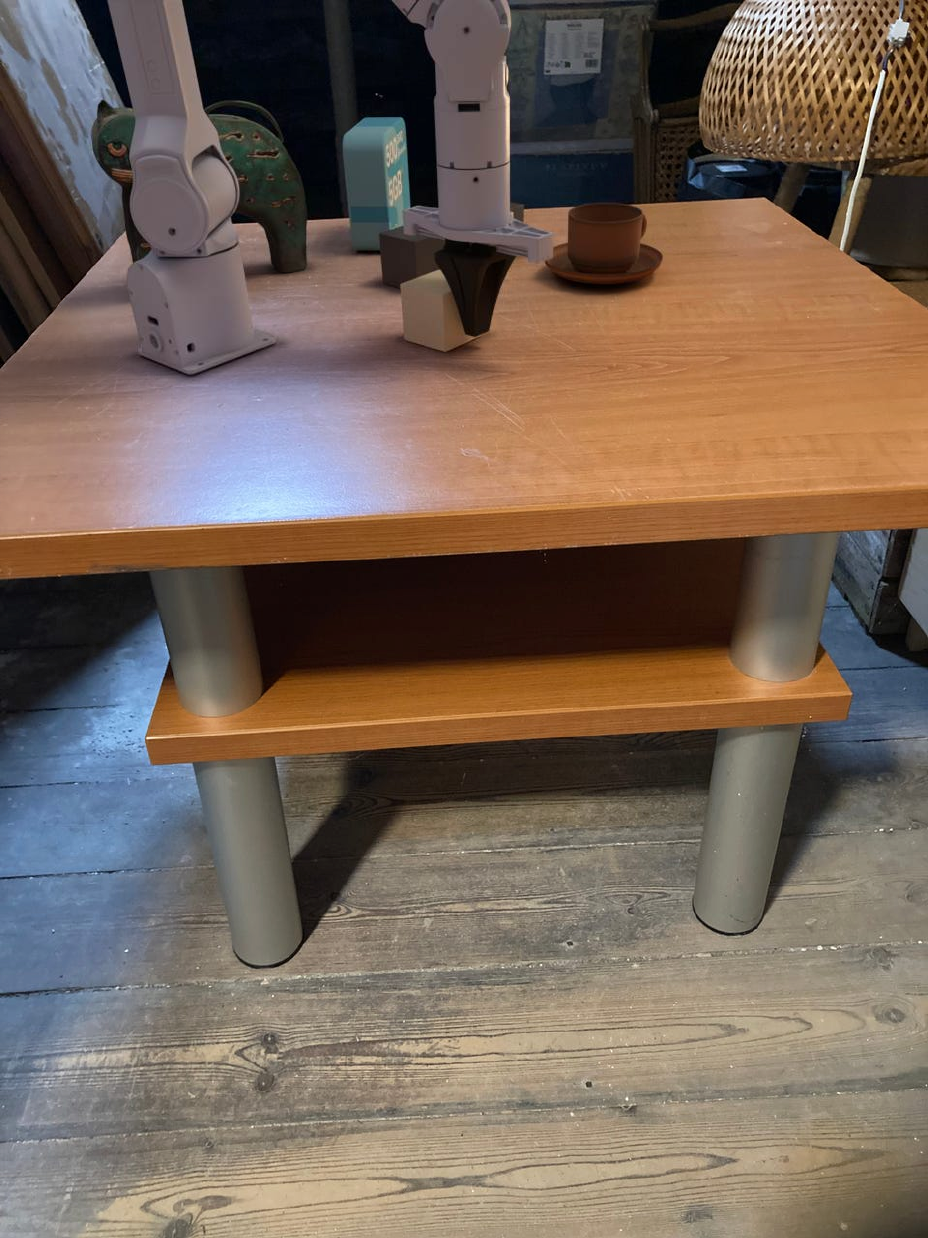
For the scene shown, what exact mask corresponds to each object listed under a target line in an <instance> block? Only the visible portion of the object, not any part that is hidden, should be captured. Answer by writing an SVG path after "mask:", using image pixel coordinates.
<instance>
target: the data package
mask: <svg viewBox="0 0 928 1238" xmlns="http://www.w3.org/2000/svg"><path fill="white" fill-rule="evenodd" d="M407 145H408V143H407V129H406V122H405V120H404V118H403V117H401V116H399V117H397V116H396V117H390V116H389V117H364V118H363V119H361V120H360V121H359V122H357V124H355V125H354V126H353V127H352V128H350V130H348V131H347V132H345V134H344V135H343V139H342V158H343V159H342V160H343V167H344V178H345V188H346V199H347V210H348V220H349V229H350V239H351V245H352V247H353V249H354V250H355V251H357V252H358V251H361V252H362V251H363V252H364V251H365V252H367V251H369V252H380V243H379V233H382V232H385V231H388V230H391V229H394V228H398V227H401V226H403V210H406V209H409V208H411V197H410V196H411V195H410V179H409V162H408V146H407Z"/></svg>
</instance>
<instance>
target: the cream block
mask: <svg viewBox="0 0 928 1238" xmlns="http://www.w3.org/2000/svg"><path fill="white" fill-rule="evenodd" d="M400 287H401V288H400V298H401V313H402V324H403V325H402V327H403V339H404V341H406V342H411V343H413V344H417V345H420V346H424V347H427V348H430V349H434V350H437V351H440V352H444V353H447V352H448V351H451V350H453V349H455V348H458V347H459V346H462V345H464V344H466V343H469V342H471V341H473V340H476V339H478V338H480V337H482V336H483V334H481V335H479V336H477V337H472V336H469V335H465V332H464V329H463V325H462V322H461V318H460V315H459V311H458V308H457V305H456V302H455V299H454V296H453V294H452V291H451V289H450V287H449V285H448V283H447V281H446V279H445V277H444V275H443V273H442V272H441V270H437V271H434V272H431V273H429V274H426V275H423V276H421V277H418V278H415V279H413V280H410V281H407V282H405V283H402V284H400Z"/></svg>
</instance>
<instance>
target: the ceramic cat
mask: <svg viewBox="0 0 928 1238" xmlns="http://www.w3.org/2000/svg"><path fill="white" fill-rule="evenodd" d="M225 106H235V107H240V108H241V107H242V108H249V109H253V110H256V111H258V112H260V113H261V114H262V115H263V116H265V117H266V118H267V119H268V120H269V121H270V122H271V124H272V125H273V126H274V128H275V130H276V133H277V135H278V136H276V135H275V134H274V133H273V131H272V132H271V130H269V129H267V128H266V127H265V126H263V125H261V124H260V123H258V122H255V121H252V120H249V119H247V118H245V117H243V116H242V117H241V116H238V115H237V116H236V115H230V114H220V113H218V114H217V113H215V114H214V113H213V114H212V113H211V114H210V112H211V111H213V110H215V109H217V108H220V107H225ZM203 110H204V112H205V113H206V115H207V117H208V118H209V120H210V121H211V122H212V124H213V125H214V127H215V129H216V130H217V132H218V137H219V142H220V146H221V150H222V152H223V154H224V156H225V158H226V160H227V161H228V163H229V164H230V166H231V167H232V169H233V170H234V172H235V174H236V177H237V180H238V184H239V201H238V205H237V208H236V209H235V211H234V213H233V214H239V215H242V216H245V217H248V218H249V219H251V220H253V222H256V223H258V225H259V226H260V227H261V228H262V229H263V231H264V233H265V238H266V239H267V245H268V250H269V256H270V263H271V266H272V267H273V269H276V270H277V271H278V272H279V273H294V272H299V271H302V270H305V269H306V268H307V266H308V261H307V260H308V258H307V256H308V255H307V253H308V252H307V238H308V237H307V233H308V231H307V229H308V228H307V226H308V208H307V203H306V195H305V189H304V184H303V181H302V178H301V175H300V173H299V170H298V168H297V166H296V165H295V163H294V161H293V159H292V158H291V156H290V154H289V153H288V150H287V148H286V147H285V146H284V144H283V143H284V142H285V140H284V136H283V134H282V131H281V128H280V127H279V125H278V122H277V121H276V119H275V118H274V116H273V115H272V114H271V113H270V112H269V111H268V110H267V109H265V108H264V107H263V106H261V105H259V104H256V103H252V102H249V101H243V100H222V101H218V102H216V103H213V104H210V105H208V106H207V107H205V108H203ZM135 123H136V119H135V115H134V110H133V108H132V107H131V108H130V107H123V106H117V107H113V106H112V105H111V104H110V103H109V102H107V101H106V100H105V99H103V98H102V99H101V100H100V101H99V103H98V104H97V109H96V118H95V119H94V121H93V123H92V125H91V132H90V138H91V148H92V152H93V156H94V158H95V160H96V162H97V164H98V166H99V167H100V168H101V170H102V171H103V172H104V173H105V174H106V176H108V177H109V179H111V180H112V181H114V182H115V183H116V184H118V185H119V186H120V187H121V203H122V212H123V219H124V230H125V235H126V240H127V243H128V245H129V251H130V256H131V260H132V264H133V263H134V262H136V261H139V260H141V259H143V258H144V257H146V256H147V255H148V254H149V252H150V251H151V250H152V248H151V245H150V243H149V242H147V241H146V240H145V239H144V238H143V236H142V235H141V234H140V232H139V231H138V229H137V228H136V226H135V224H134V221H133V219H132V215H131V211H130V196H131V192H132V188H133V172H132V167H131V163H130V159H129V155H130V148H131V143H132V139H133V134H134V129H135Z"/></svg>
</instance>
